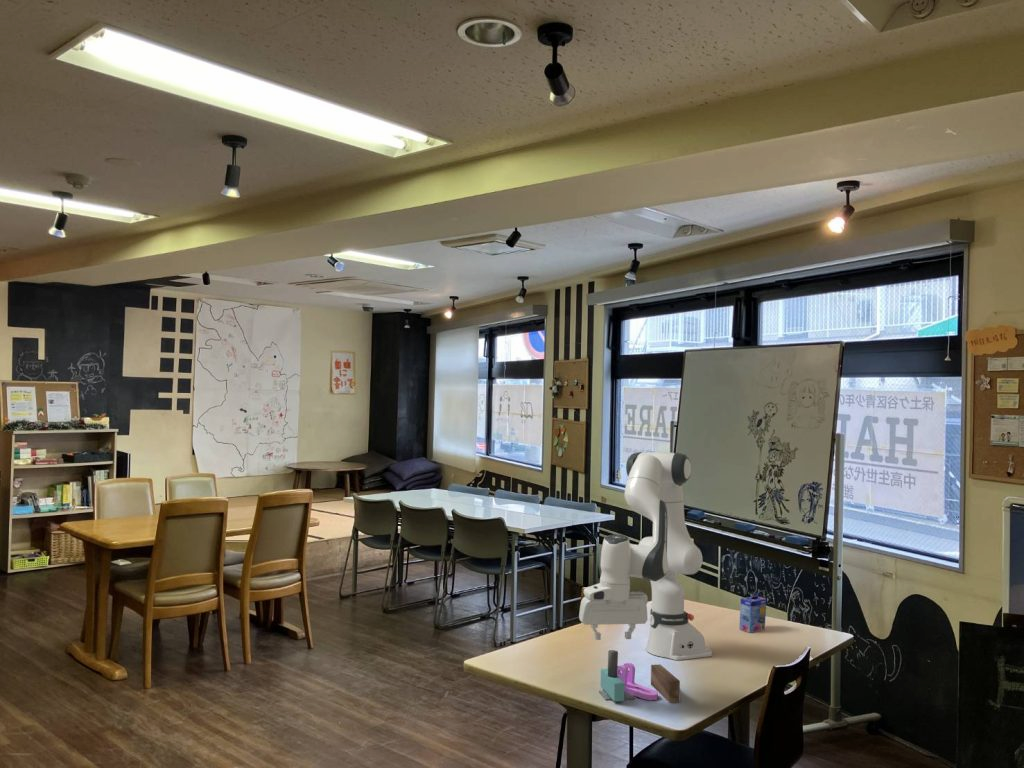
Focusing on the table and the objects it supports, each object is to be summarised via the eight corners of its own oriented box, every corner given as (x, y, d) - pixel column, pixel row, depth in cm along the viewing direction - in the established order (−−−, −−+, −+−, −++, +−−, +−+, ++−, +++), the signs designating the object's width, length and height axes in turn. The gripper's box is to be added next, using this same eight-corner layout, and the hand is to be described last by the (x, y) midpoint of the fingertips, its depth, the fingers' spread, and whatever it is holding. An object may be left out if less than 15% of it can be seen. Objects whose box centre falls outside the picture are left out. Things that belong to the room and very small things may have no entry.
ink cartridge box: (750, 633, 285) (751, 595, 286) (738, 629, 290) (739, 592, 290) (766, 629, 291) (767, 592, 291) (754, 626, 295) (755, 589, 296)
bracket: (613, 687, 223) (615, 664, 223) (623, 684, 227) (625, 660, 227) (651, 701, 214) (653, 677, 215) (661, 697, 219) (662, 673, 219)
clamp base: (659, 684, 229) (660, 664, 229) (679, 702, 215) (679, 681, 215) (594, 687, 225) (595, 667, 225) (610, 705, 211) (610, 684, 211)
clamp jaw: (610, 685, 225) (611, 645, 225) (624, 700, 213) (625, 658, 213) (600, 685, 224) (601, 645, 224) (614, 701, 212) (615, 658, 213)
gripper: (643, 588, 225) (642, 635, 224) (578, 588, 220) (576, 636, 220) (651, 593, 218) (650, 641, 218) (584, 594, 214) (583, 642, 214)
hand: (612, 638), depth 219 cm, fingers open, 8 cm apart
